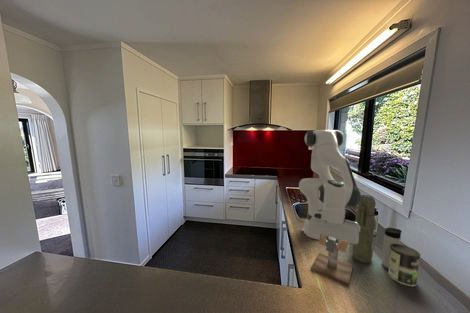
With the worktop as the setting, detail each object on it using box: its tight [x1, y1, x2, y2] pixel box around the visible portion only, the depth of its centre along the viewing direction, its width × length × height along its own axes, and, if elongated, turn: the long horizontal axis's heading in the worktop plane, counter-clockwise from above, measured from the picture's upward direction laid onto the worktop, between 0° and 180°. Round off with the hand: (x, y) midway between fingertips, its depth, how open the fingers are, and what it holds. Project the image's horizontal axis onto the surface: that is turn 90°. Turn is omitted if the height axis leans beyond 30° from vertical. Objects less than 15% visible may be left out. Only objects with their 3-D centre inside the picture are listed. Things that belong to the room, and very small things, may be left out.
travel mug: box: [381, 227, 402, 270], centre depth 95 cm, size 6×7×20 cm
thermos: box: [352, 194, 377, 264], centre depth 101 cm, size 9×12×35 cm
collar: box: [318, 234, 350, 253], centre depth 89 cm, size 15×11×5 cm
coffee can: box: [387, 243, 421, 287], centre depth 87 cm, size 10×10×14 cm
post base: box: [310, 249, 354, 287], centre depth 92 cm, size 16×16×12 cm
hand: (331, 245), depth 85 cm, fingers closed on collar, 3 cm apart
